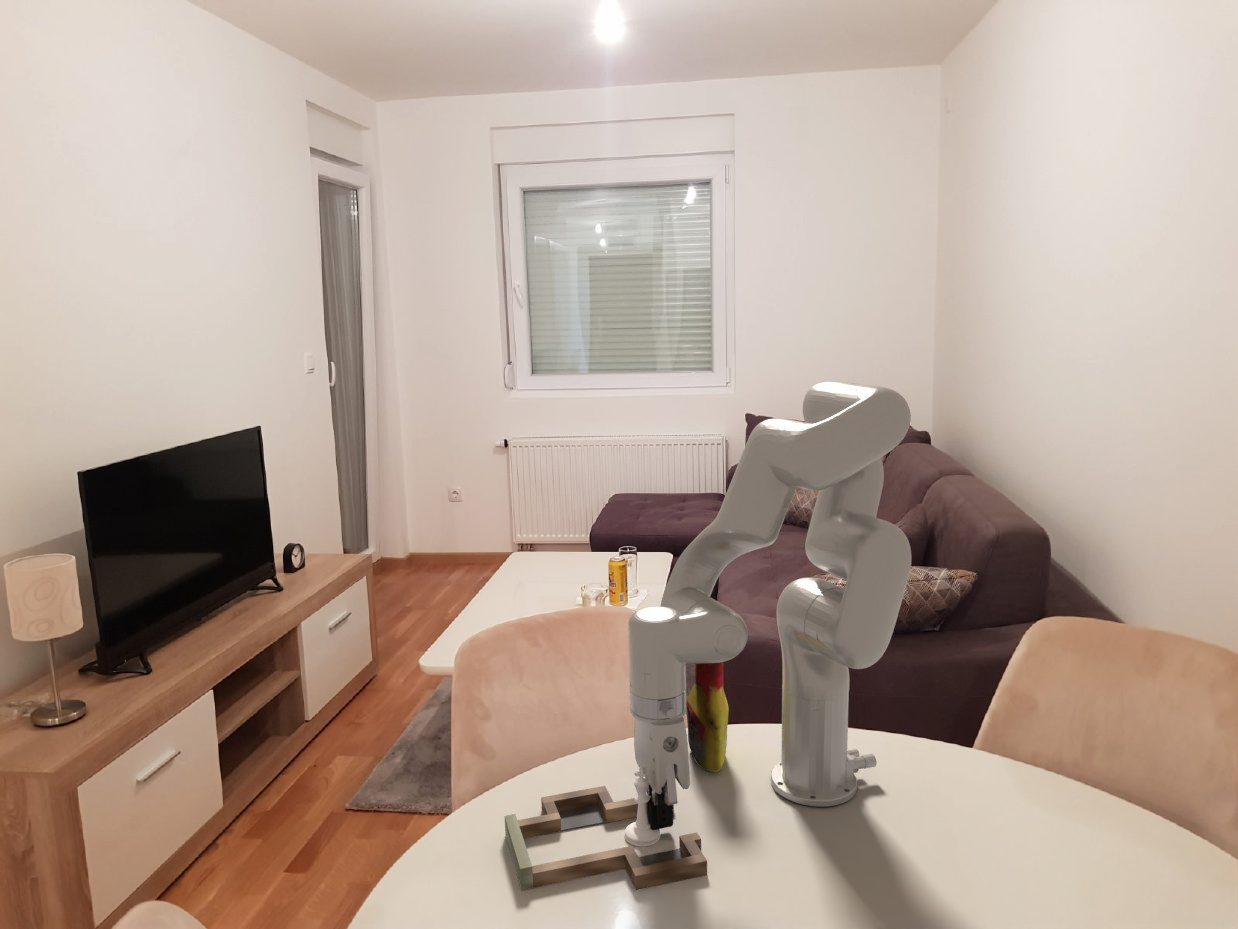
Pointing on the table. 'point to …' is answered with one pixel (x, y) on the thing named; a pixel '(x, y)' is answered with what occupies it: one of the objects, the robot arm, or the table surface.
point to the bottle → (708, 716)
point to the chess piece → (641, 817)
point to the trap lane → (591, 811)
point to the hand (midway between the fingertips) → (660, 825)
